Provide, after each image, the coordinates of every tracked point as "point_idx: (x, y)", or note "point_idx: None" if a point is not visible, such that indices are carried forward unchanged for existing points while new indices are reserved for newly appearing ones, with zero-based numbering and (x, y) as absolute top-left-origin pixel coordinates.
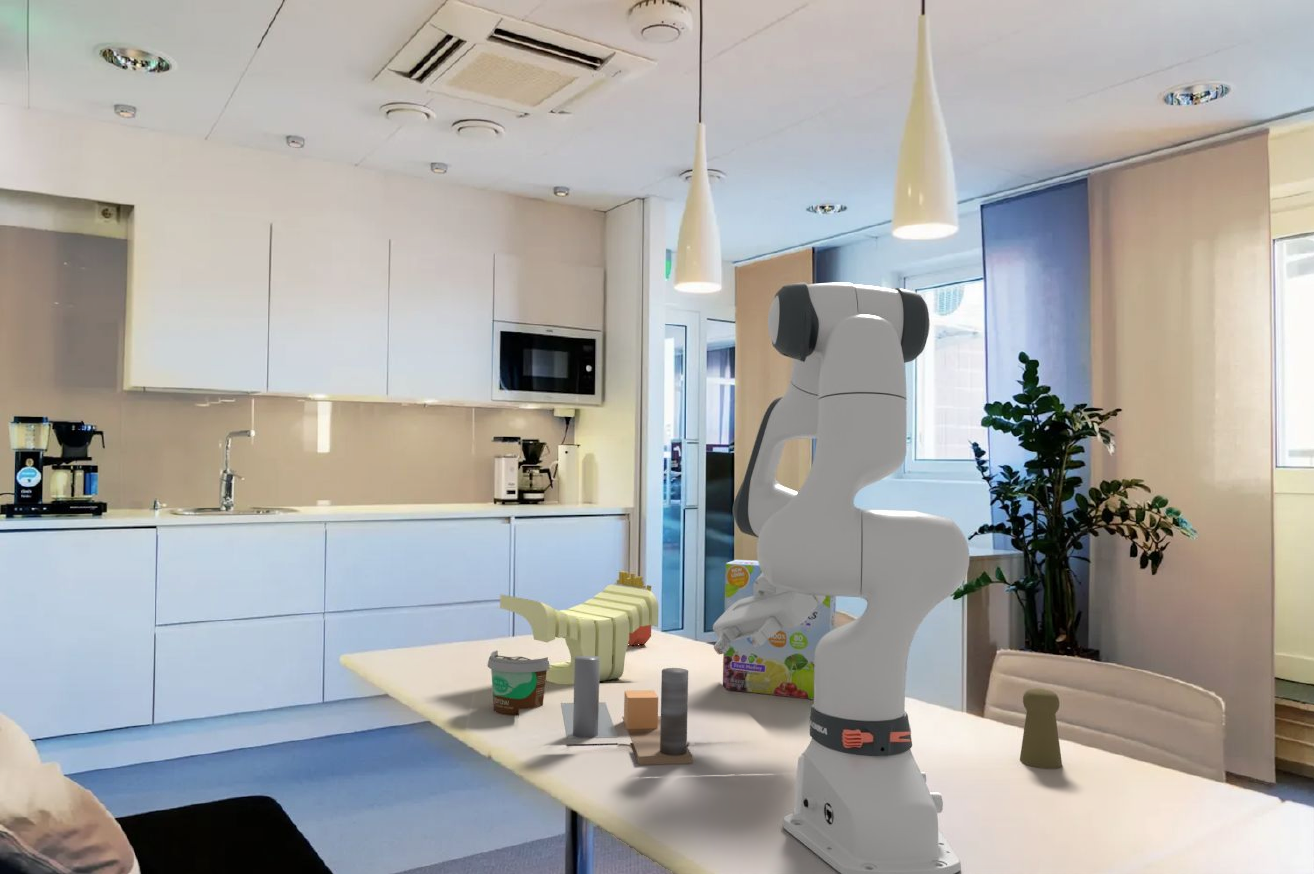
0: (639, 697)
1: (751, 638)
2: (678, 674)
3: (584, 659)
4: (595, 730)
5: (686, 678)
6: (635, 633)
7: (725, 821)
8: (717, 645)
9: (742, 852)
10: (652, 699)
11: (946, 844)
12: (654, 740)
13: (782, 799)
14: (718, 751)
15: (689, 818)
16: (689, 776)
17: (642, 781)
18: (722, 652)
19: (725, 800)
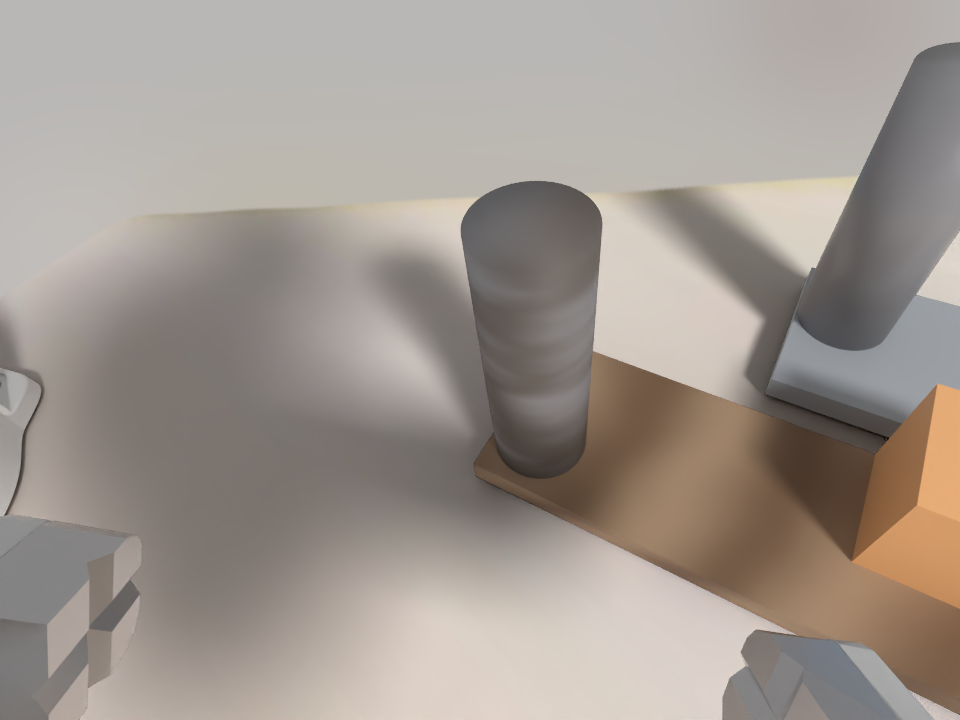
0: (935, 428)
1: (96, 528)
2: (468, 214)
3: (943, 58)
4: (811, 317)
5: (469, 269)
6: None
7: (163, 324)
8: (796, 636)
9: (74, 278)
10: (914, 483)
11: None
12: (683, 454)
13: (106, 504)
14: (545, 666)
15: (230, 285)
16: (404, 415)
17: (452, 312)
18: (731, 691)
19: (226, 388)
